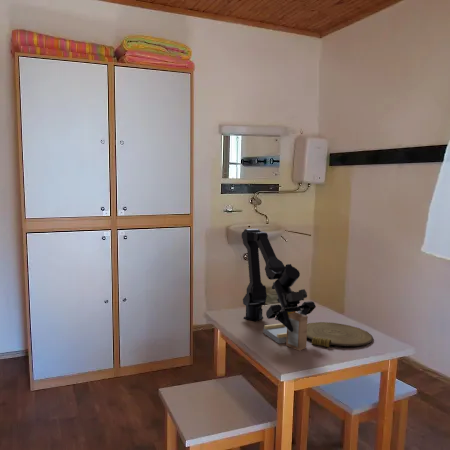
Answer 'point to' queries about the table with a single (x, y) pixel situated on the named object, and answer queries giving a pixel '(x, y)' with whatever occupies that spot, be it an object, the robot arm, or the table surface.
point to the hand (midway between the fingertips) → (299, 330)
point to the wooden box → (297, 331)
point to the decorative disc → (337, 334)
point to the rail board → (276, 332)
